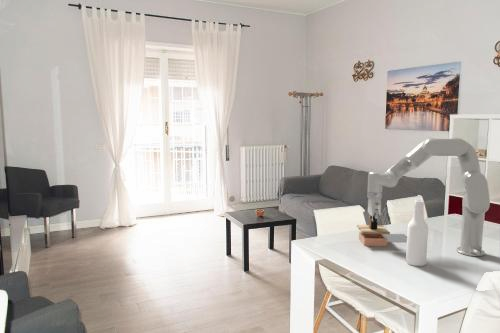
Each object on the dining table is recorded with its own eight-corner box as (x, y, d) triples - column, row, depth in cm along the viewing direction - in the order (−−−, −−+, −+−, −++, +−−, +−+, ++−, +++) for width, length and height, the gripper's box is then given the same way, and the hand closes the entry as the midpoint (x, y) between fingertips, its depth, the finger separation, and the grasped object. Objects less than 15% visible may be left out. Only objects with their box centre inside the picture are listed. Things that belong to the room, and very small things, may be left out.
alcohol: (409, 258, 193) (412, 198, 190) (428, 263, 188) (432, 200, 184) (403, 263, 186) (406, 200, 183) (422, 268, 181) (426, 203, 177)
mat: (414, 243, 217) (414, 242, 217) (384, 243, 218) (384, 242, 218) (404, 235, 233) (404, 234, 233) (376, 234, 234) (376, 233, 234)
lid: (389, 234, 209) (390, 223, 208) (363, 233, 209) (363, 222, 209) (381, 227, 223) (382, 216, 222) (356, 226, 223) (357, 216, 223)
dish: (387, 247, 211) (387, 238, 210) (364, 246, 211) (364, 238, 211) (380, 240, 223) (380, 232, 222) (358, 240, 223) (359, 232, 223)
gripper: (386, 197, 206) (384, 232, 208) (377, 192, 222) (375, 224, 224) (371, 197, 206) (370, 232, 208) (363, 191, 222) (362, 223, 224)
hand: (372, 227), depth 216 cm, fingers closed on lid, 3 cm apart
